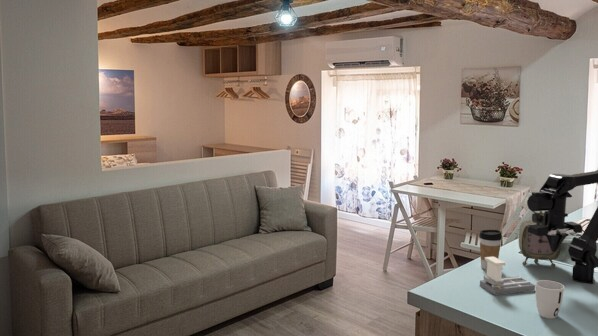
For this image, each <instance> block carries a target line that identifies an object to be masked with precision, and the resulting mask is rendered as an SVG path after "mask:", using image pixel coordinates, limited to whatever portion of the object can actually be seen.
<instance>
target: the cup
mask: <svg viewBox="0 0 598 336" xmlns="http://www.w3.org/2000/svg"><path fill="white" fill-rule="evenodd" d="M534 285H535V301H536V308H537V312H538V314H539V316H540V317H542V318H546V319H556V318H557V317H558V315H559V312H560V310H561V306H562V302H563V298H564V297H563V296H564V293H565V292H564V291H565V285H564V284H562V283H560V282H558V281H554V280H547V279H540V280H537V281H535V284H534Z"/></svg>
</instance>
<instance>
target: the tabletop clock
mask: <svg viewBox="0 0 598 336" xmlns="http://www.w3.org/2000/svg"><path fill="white" fill-rule="evenodd" d="M531 212H532V214H534V213H539V214H540V215H544V212H543V211H539V212H538V211H531ZM534 224H536V222H533V221H532V219H526V220H524V221H521V223H520V227H519V231H518V248H519V250H520V252H521V254H522V255H523V257H525V259H524V261H522V265H523V266H524V267H525V266H527V265H528V264H527V261H528V259H531V260H533V262H534V263H535V264H538V263H539V261H549V262H550V263H551V264H550V266H551V268H555V267H556V264H555V263H554V262H553V260H557V259H558V258H559V256H560V253H561V250H562V249H561V248H562V243H561V244H560V246H559V247H558V249H557V250H556V252H552V251H551V248H550V245H549V241H548V239H547V237H546V236H537V235H534V234H532V233H529V232H528V227H529V226H530V225H534ZM539 225H542V224H539ZM542 226H545V227H546V225H542Z"/></svg>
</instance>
